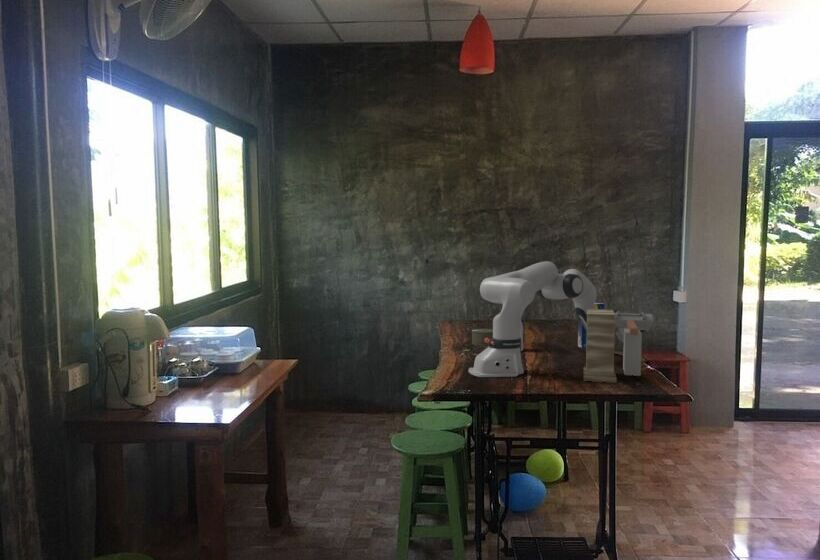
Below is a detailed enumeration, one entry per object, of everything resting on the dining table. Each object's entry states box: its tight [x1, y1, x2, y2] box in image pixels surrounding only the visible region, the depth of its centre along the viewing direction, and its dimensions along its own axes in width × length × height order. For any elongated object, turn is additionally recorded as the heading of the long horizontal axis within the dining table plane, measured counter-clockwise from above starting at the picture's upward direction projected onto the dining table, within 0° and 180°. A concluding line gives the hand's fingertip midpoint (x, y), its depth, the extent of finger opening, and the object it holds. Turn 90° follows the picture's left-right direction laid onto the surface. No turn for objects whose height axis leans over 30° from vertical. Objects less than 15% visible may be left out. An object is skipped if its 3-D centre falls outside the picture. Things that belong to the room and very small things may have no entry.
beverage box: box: [577, 301, 605, 349], centre depth 315 cm, size 7×11×22 cm, turn 90°
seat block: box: [622, 329, 643, 377], centre depth 259 cm, size 12×6×17 cm, turn 165°
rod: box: [627, 320, 638, 335], centre depth 261 cm, size 25×2×2 cm, turn 165°
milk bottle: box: [520, 321, 524, 352], centre depth 307 cm, size 8×8×20 cm
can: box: [471, 328, 493, 347], centre depth 326 cm, size 12×12×7 cm
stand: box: [582, 308, 617, 384], centre depth 251 cm, size 18×12×26 cm, turn 165°
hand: (630, 312), depth 277 cm, fingers open, 8 cm apart
